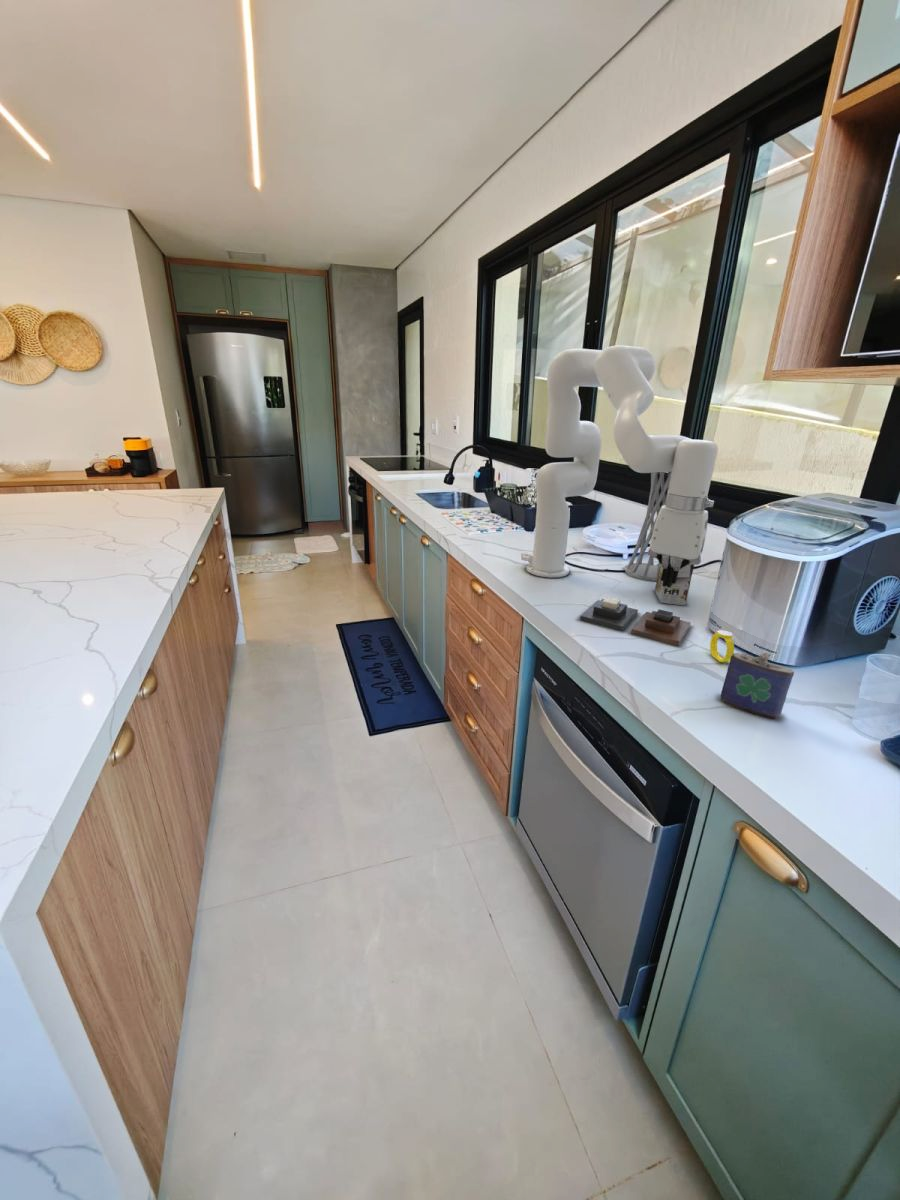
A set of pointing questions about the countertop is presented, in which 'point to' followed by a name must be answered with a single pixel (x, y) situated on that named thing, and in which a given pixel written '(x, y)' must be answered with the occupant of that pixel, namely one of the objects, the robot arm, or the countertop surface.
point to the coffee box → (675, 585)
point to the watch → (729, 644)
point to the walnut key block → (661, 629)
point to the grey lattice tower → (649, 569)
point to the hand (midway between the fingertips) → (667, 584)
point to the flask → (756, 685)
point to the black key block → (609, 615)
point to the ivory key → (611, 603)
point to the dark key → (663, 616)
